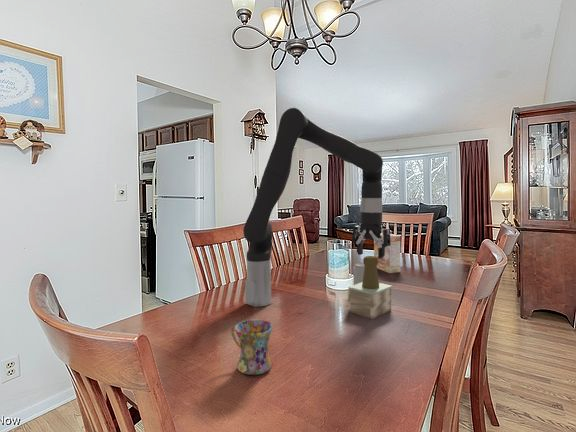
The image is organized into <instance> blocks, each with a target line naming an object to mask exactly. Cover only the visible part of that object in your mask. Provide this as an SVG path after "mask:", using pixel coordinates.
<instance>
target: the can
mask: <svg viewBox="0 0 576 432" xmlns="http://www.w3.org/2000/svg"><path fill="white" fill-rule="evenodd" d="M364 268H365V265H364V263H363V262H362V263H361V262H359V263H355V264H354V266H353V268H352V269H353V271H352V274H353V281H352V282H353V284H352V286H353V285H355V284H358V283H361V282H363V275H364Z"/></svg>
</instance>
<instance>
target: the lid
mask: <svg viewBox="0 0 576 432" xmlns="http://www.w3.org/2000/svg"><path fill="white" fill-rule="evenodd" d="M362 283H363V282H361V283H358V284H355V285H353V284H352V285H350V286H348V290H349V289H350V290H354V291H358V292H362V293H366V294H370V295H376V294H379V293H381V292H383V291H386V290H388V289H391V290H392V289H393V285H391V284H386V283H383V282H382V283H381V282H379V288H378V289H366V288H363V287H362Z"/></svg>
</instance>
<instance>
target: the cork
mask: <svg viewBox="0 0 576 432" xmlns="http://www.w3.org/2000/svg"><path fill="white" fill-rule="evenodd" d="M362 261H363V262H362V263H364V265H365V268H364V275H363V283H362V287H363V288H366V289H378V288H379V283H380V282H379V274H378V268H377V265H378V259H377V257H375V256H374V255H367V256H366V255H365V256H364V257H363V260H362Z"/></svg>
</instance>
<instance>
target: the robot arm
mask: <svg viewBox="0 0 576 432" xmlns="http://www.w3.org/2000/svg"><path fill="white" fill-rule="evenodd" d="M280 117H281V118H279V119H280V120H279V124H278V128H277V133H276V136H275V141H274V145H273V147H272V149H271V152H270V154H269V158H268V160H267V163H266V166H265V168H264V172H263V173H262V176H261V181H260V183H259V187H258V190H257V193H256V195H255V196H256V197H255V200H254V204H253V206H252V208H251V211H250V212H249V215H248V217H247V219H246V221H245V224H244V226H243V229H242V230H243V236H244V238H245V240H246V241H247V242H248V243H249V244H248V245H249V246H248V250H247V252H246V279H245V280H244V292H245V293H244V294H245V295H244V296H245V297H244V302H245V304H246V305H249V306H251V307H253V308H257V307H266V306H269V305H270V304H271V303H272V273H271V271H272V268H271V259H272V257H271V256H272V255H271V254H272V250H273V228H272V225H271V222H270V217H271V214H272V213H273V210H274V208H275V206H276V205H277V203H278V201H279V200H280V198H281V196H282V195H283V193H284V191H285V188H286V185H287V183H288V180H289V177H290V174H291V170H292V169H291V168H292V161H293V153H294V149H295V146H296V144H297V141H298V139H301V140H303V141H304V140H305V141H306V142H309V143H312V144H314V145H316V146H317V147H320V148H321V149H323V150H325V151H326V152H327V153H330V154H332V155H333V156H335V157H337V158H339V159H340V160H342V161H344V162H346V163H348V164H352V165H353V166H355V167H357V168H358V169H361V170H362V174H361V175H362V177H361V178H362V184H361V194H360V195H361V199H360V200H361V201H360V214H359V215H360V216H359V217H360V218H359V220H360V221H359V223H360V225H353V227H352V236H351V238H352V240H351V242H353V243H355V244H356V253H357V254H358V256H361V255H363V254H364V244H363V243H364V242H365V240H371V241H374V240H375V242H376V243H377V244H378V246H379V247H380V248H378V258H380V259H381V258H383V257H384V256H385V247H387V246H390V245H391V243H390V234H391V229H390V228H382V224H383V185H382V178H383V177H382V175H383V165H384V161H383V157H382V156H381V155H379V154H378V153H376V152H375V151H373V150H370V149H367V147H366V148H365V147H363V146H360V145H358V144H357V143H355V142H353V141H351V140H349V139H348V138H346V137H344V136H341V135H340V134H337V133H334V132H331V131H329V130H326V129H325V128H322V127H321V126H319V125H317V124H316V123H315V122H314V121H312V120H310V118H308V117H307V116H306V115H305V113H304V112H303V111H301V110H300V109H299V108H297V107H291V108H287V109H286V110H285V111H284V112H283V113H282V115H281V116H280ZM360 233H361V234H360ZM381 233H382V234H383V238H382V236H381V235H380V234H381Z"/></svg>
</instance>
